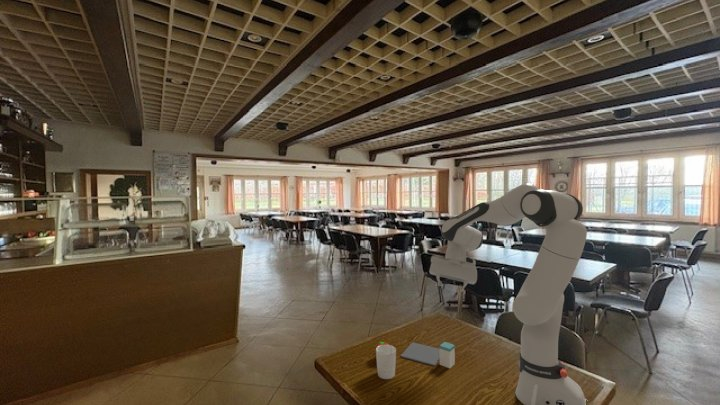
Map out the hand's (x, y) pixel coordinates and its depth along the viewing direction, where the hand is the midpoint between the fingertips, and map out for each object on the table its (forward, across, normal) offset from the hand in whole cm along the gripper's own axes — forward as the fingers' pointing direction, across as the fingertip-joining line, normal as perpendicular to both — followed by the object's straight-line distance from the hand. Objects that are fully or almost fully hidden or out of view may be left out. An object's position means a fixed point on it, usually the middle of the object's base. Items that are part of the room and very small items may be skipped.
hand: (450, 288), depth 135 cm
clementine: (+34, -22, +13) cm, 42 cm away
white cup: (+40, -18, +4) cm, 44 cm away
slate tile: (+26, -6, +18) cm, 32 cm away
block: (+28, +4, +12) cm, 31 cm away
